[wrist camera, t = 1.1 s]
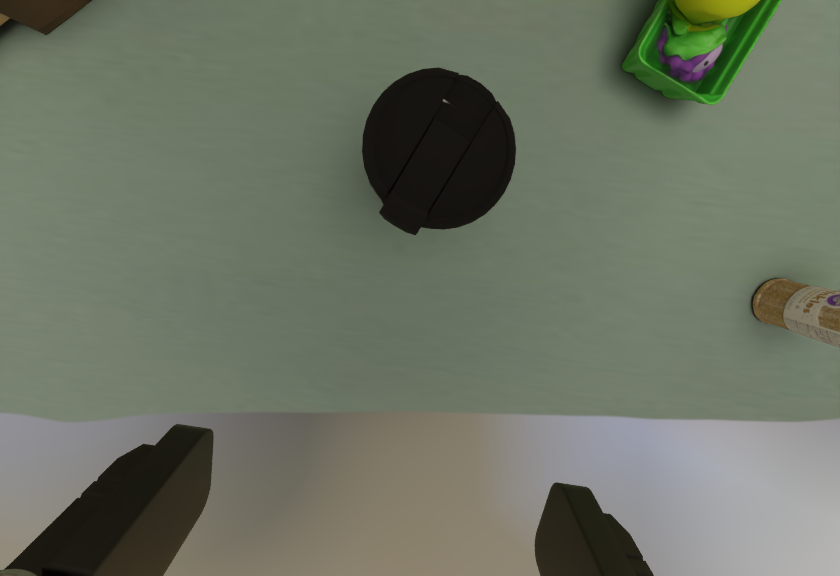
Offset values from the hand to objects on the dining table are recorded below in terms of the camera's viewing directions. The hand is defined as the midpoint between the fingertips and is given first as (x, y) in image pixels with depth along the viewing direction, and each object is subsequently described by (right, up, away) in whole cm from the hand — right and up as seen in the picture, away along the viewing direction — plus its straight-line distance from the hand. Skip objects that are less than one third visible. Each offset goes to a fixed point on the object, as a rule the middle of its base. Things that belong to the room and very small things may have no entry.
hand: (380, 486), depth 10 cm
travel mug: (0, +14, +26) cm, 29 cm away
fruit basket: (+21, +26, +25) cm, 42 cm away
